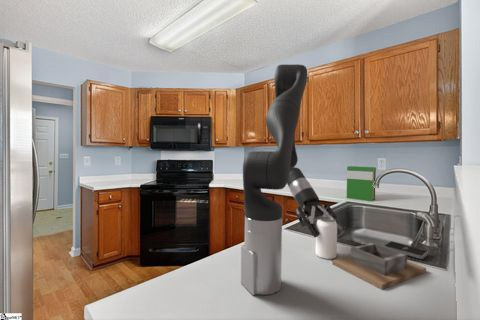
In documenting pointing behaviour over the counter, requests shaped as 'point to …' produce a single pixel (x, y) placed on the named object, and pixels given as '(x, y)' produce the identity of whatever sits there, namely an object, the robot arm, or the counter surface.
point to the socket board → (379, 265)
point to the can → (326, 238)
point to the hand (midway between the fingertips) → (327, 234)
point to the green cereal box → (361, 183)
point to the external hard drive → (408, 250)
